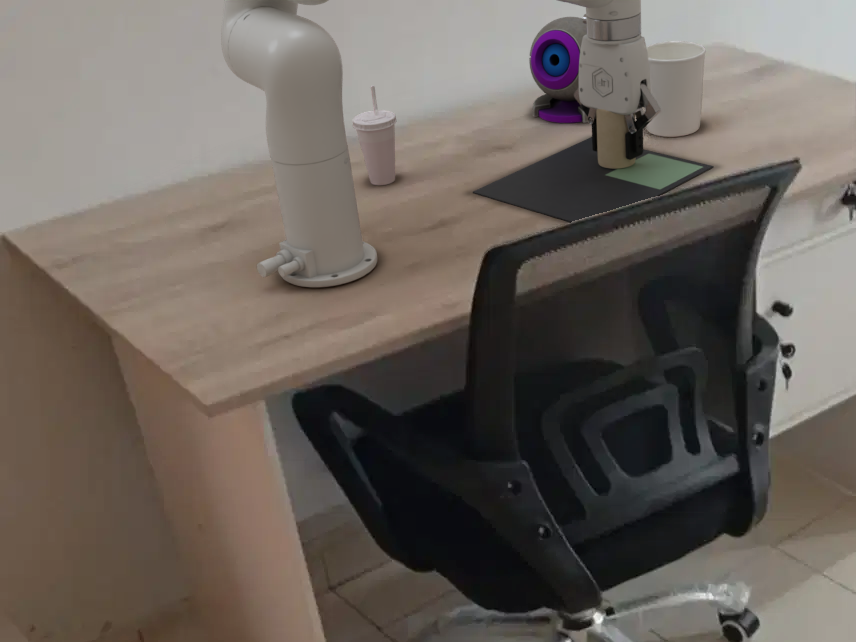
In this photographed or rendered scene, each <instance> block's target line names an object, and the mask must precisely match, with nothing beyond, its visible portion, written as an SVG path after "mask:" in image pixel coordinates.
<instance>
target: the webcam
mask: <svg viewBox="0 0 856 642" xmlns="http://www.w3.org/2000/svg"><path fill="white" fill-rule="evenodd" d="M582 19H583V17H578V16H563V17H558V18H556V19H553V20H551V21H550V22H548V23H547V24H546V25H544V26H543V27H542V28H541V29H540V30H539V31H538V33H537V34H536V35H535V37H534V39H533V41H532V44H531V46H530V50H529V69H530V73H531V76H532V78H533V81H534V82H535V84H536V85H537V87H538V88H539V89H540V90H541V91H542V92H543V93H544V94H541V95H540V96H538V97H537V98H536V99H535V100H534V101H533V102H532V117H534V118H536V117H539V118H540V119H541V120H544V121H547V122H550V123H558V124H564V123H565V124H572V123H573V124H575V123H583V124H586V123H588V121H587V118H588V117H587V115H586V114H585V112H584V111H583V110H582V106H581V105H580V104H579V103H578V101H577V100H576V99H575V97H574V93H575V91H576V90H577V89H578V87H579V59H580V50H581V44H582V39H583V36H584V35H586V34H587V24H584V23H583V20H582Z"/></svg>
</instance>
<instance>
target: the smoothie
mask: <svg viewBox="0 0 856 642" xmlns="http://www.w3.org/2000/svg"><path fill="white" fill-rule="evenodd" d="M370 92H371V100H372V107H373V110H368V111H364V112H363V111H362V112H361V113H358V114H356V115H354V116H353V117H352V119H351V121H352V128H353V129H354V130H355V132H356V135H357V139H358V143H359V146H360V149H361V153H362V157H363V160H364V164H365V168H366V170H367V174H368V178H369V181H370V184H371V185H374V186H385V185H389V184H392V183H394V182H395V181H396V127H395V124H397V116H396V113H395V112H394V111H392V110H386V109H378V103H377V101H378V100H377V95H376V94H377V93H376V86H375V85H370Z"/></svg>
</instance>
